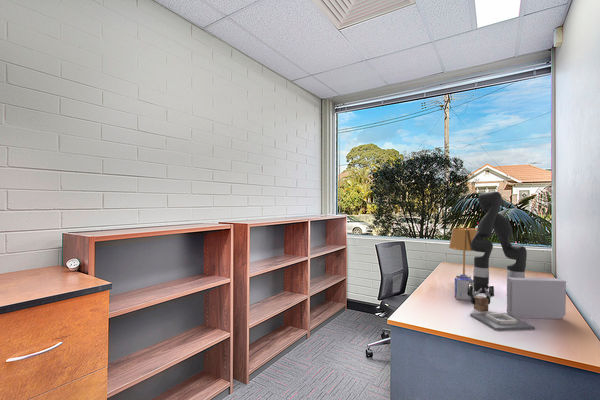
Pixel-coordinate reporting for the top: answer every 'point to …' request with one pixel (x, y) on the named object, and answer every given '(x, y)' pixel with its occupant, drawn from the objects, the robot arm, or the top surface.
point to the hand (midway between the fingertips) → (480, 304)
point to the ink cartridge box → (462, 287)
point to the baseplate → (502, 321)
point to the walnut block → (481, 303)
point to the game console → (536, 297)
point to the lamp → (462, 243)
